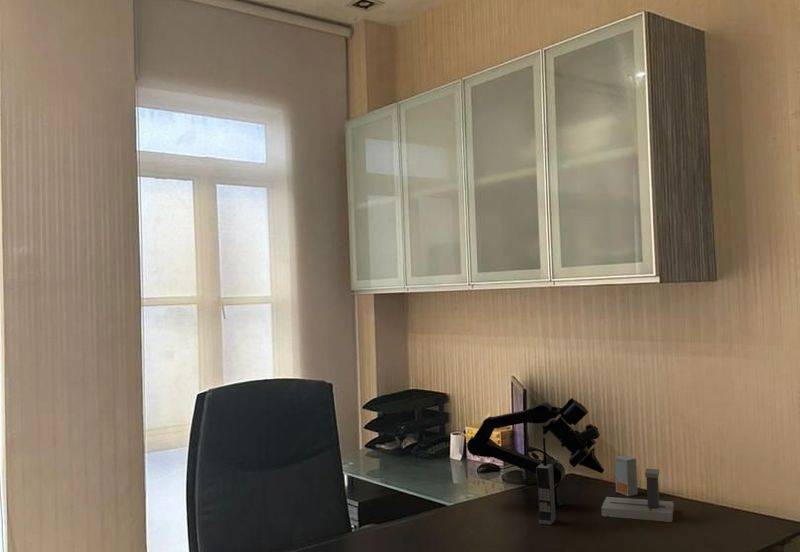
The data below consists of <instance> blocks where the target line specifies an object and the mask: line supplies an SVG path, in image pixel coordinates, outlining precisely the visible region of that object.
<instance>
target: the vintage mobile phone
mask: <svg viewBox="0 0 800 552" xmlns="http://www.w3.org/2000/svg"><path fill="white" fill-rule="evenodd" d="M542 444H543V445H542V446H543V453H542V454H543V455H542V456H543V459H544V463H543V464H540V465H539V466H538V467H536V471H537V475H536V485H537V484H538V486H537V490H538V494H537V495H538V503H539V507H538V523H539V524H540V525H548V526H550V525H552V524H553V523H554V522H555V521H556V508H555V497H554V475H553V465H551V464H547V463H546V456H547V452H546V451H547V450H546V438H545V437H543V438H542ZM543 459H542V460H543Z"/></svg>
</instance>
